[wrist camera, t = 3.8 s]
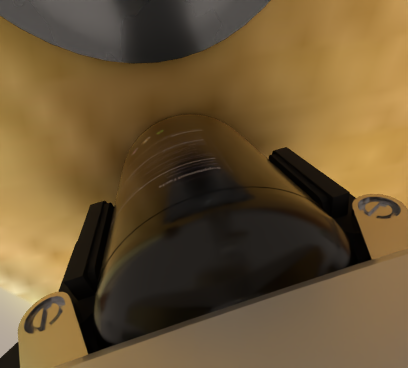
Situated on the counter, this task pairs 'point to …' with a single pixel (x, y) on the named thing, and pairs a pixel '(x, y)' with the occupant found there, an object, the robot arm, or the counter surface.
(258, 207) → the supplement bottle
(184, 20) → the plate
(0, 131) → the counter surface
